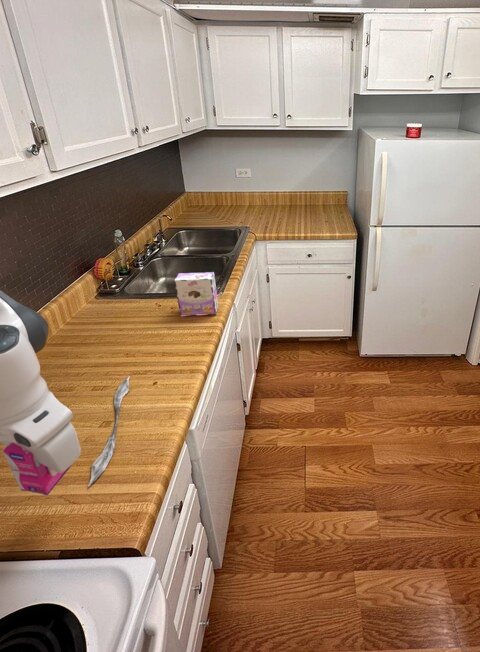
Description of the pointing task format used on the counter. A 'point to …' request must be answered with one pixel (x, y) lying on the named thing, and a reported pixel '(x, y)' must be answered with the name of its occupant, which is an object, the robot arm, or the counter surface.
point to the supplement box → (30, 470)
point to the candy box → (196, 293)
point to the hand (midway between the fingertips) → (41, 463)
